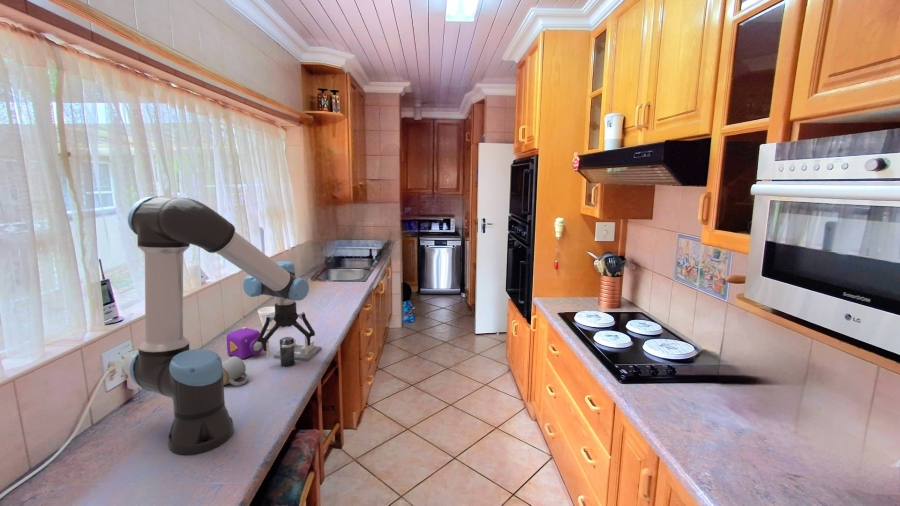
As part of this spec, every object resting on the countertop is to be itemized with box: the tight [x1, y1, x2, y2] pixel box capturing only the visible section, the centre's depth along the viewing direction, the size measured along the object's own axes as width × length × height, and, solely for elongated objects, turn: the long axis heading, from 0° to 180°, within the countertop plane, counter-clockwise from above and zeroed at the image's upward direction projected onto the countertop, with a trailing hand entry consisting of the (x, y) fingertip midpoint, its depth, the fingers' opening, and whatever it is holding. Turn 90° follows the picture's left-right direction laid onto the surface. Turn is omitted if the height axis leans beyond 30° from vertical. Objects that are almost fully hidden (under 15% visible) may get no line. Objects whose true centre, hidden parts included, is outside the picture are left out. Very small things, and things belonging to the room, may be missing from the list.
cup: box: [257, 305, 276, 331], centre depth 192 cm, size 10×10×9 cm
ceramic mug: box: [222, 356, 249, 387], centre depth 141 cm, size 11×8×8 cm
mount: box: [273, 338, 322, 362], centre depth 166 cm, size 12×14×4 cm
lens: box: [279, 336, 296, 368], centre depth 155 cm, size 5×5×10 cm
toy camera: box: [226, 326, 264, 360], centre depth 163 cm, size 11×14×10 cm
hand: (287, 355), depth 156 cm, fingers open, 13 cm apart
